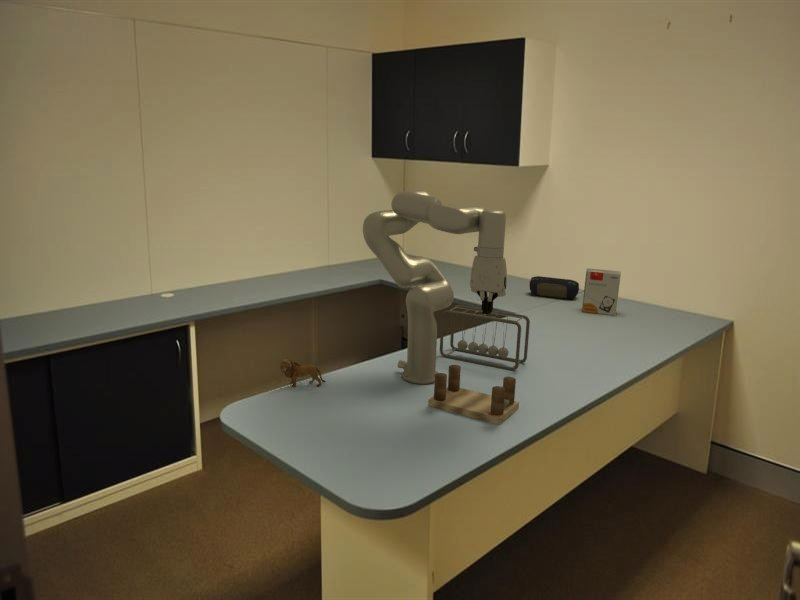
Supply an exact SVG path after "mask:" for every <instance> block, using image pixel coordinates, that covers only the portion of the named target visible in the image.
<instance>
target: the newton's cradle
mask: <svg viewBox="0 0 800 600" xmlns="http://www.w3.org/2000/svg"><path fill="white" fill-rule="evenodd" d="M481 308H482V307H473V306H467V305H460V304H456V305H454V306H453V307H452V308H451V309H449V310H448V309H447V310H443V311H442V312H441V315H440V332H439V333H440V335H439V336H440V337H439V353H440V355H441V356H442V357H443V358H447V359H453V360H455V361H456V360H457V361H463V362H467V363H472V364H478V365H483V366H487V367H491V368H492V367H493V368H496V369H503V370H508V371H516V370H517V369H518V368H519V364H523V363H525V362H527V359H528V352H529V351H528V349H529V337H530V324H531V323H530V318H529V317H528V316H527V315H525V314H519V313H513V312H512V313H511V312H506V311H499V310H494V309H493V310H492V312H491V313H490V314H492V315H495V316H488V315H489V314H488V315H487V314H486V315H485V314H479V313H482V309H481ZM456 309H460V310H465V311H457V310H456ZM469 311H473V312H475V313H470V312H469ZM468 312H469V313H468ZM476 313H477V314H476ZM446 314H449V315H451V320H450V322H451V323H450V341H449V343H450V344H449V345H450V347H451V349H452V350H451V351H450V352H448V353H444V328H445V315H446ZM455 315H456V316H462V319H461V320H462V321H461V322H462V334H461V336H462V338H461V339H460V340H459V341H458V342H457V347H455V346H454V332H455V319H456V318H455ZM496 316H497V317H496ZM499 316H503V317H504V316H505V317H504V318H501V317H499ZM464 317H466V319H465V322H467V320H468V318H471V319H472V321H474V319H476V320H475V324H477V323H478V319H479V320H481V321H482V322H484V320H486V322H485V325H487V323H488V321H492V322H495V323H496V324H495V327H497V326H498V325H497V323H502V324H510V325H515V326H516V327H517V337H516V350H515V358H513V357H508V356H509V349H508V348H506V347H505V344H506V340H503V346H502V347H500V348H498V347H497V345H495V344H492V345H491V346H488V345H487V344H485V342H482V343H481V344H478V343H477V342H475V341H471V342H469V344H468V341H466V340H464V339H465V337H464V335H466V334H465V332H466V330H464V329H466V327H467V324H465V326H464ZM511 317H512V318H516V319H517V318H518V319H517V320H515V319H514V320H512V319H509V318H511ZM522 319H524V320H525V321H526V322H525V323H526V324H525V336H524V337H525V338H524V352H523V358H522V359H520V351H521V338H522V326H521V324H520V323H519V321H520V320H522ZM463 327H464V328H463ZM476 329H477V327H475V329H474V332H476V331H477V330H476ZM507 329H508V325H506V327H505V330H507ZM486 331H487V328H485V329H484V333H486ZM496 333H497V329H495V332H494V335H496ZM506 335H507V332H505V334H504V338H506ZM475 339H476V335H473V340H475ZM485 339H486V335H483V341H485ZM495 339H496V337H493V343H495ZM455 351H457V352H461V353H466V354H472V355H477V356H482V357H488V358H494V359H498V360H503V361H510V362H515V363H514V364H515V365H513V366H512V367H511V366H507V365H502V364H498V363H497V364H496V363H492V362H491V363H490V362H487V361H483V360H482V361H481V360H476V359H471V358H467V357H462V356H456V355H451V353H453V352H455Z"/></svg>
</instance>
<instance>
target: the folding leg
mask: <svg viewBox="0 0 800 600" xmlns="http://www.w3.org/2000/svg"><path fill="white" fill-rule="evenodd" d="M502 380H503V381H502V386H498V385H497V386H496V385H495V386H493V387H492V388H491V395H492V398H491V413H493V414H503V411H504V408H505V407H506V406H507V405H508V404H512V403H514V401H515V397H516V394H515V393H516V383H517V382H516V380H517V379H516V378H515V377H513V376H505V377H503V379H502Z"/></svg>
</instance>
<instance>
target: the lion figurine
mask: <svg viewBox="0 0 800 600" xmlns="http://www.w3.org/2000/svg"><path fill="white" fill-rule="evenodd" d="M278 370H279V372H280V373H281V374H282V375H284V376H285V377H286V378H290V379H291V381H290V382H289V384H290V385H291V387H292V388H295V387H297V379H298V377H299V378H304V377H307V376H310V377H311V380H310V381H309V380H308V383H309V384H313V383H314V382H315V381H316V382H318V383H317V384H316V386H317V387H321V386H322V383H326V382H327V381H326V380H324V379H323V376H322V372H321V370H320V368H319V367H318V366H317V365H314V364H307V365H300V364H299V363H298V362H296V361H293V360H292V359H288V358H284V359H282V360H281V361H279V368H278Z"/></svg>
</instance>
